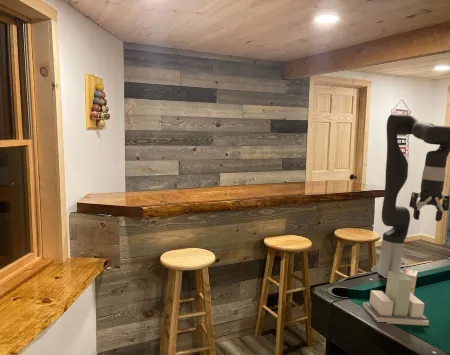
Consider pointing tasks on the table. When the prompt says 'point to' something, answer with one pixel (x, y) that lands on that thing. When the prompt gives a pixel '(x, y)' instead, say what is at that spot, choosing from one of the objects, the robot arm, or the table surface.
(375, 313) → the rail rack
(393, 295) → the block
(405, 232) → the robot arm
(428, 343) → the table surface
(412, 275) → the ink cartridge box
